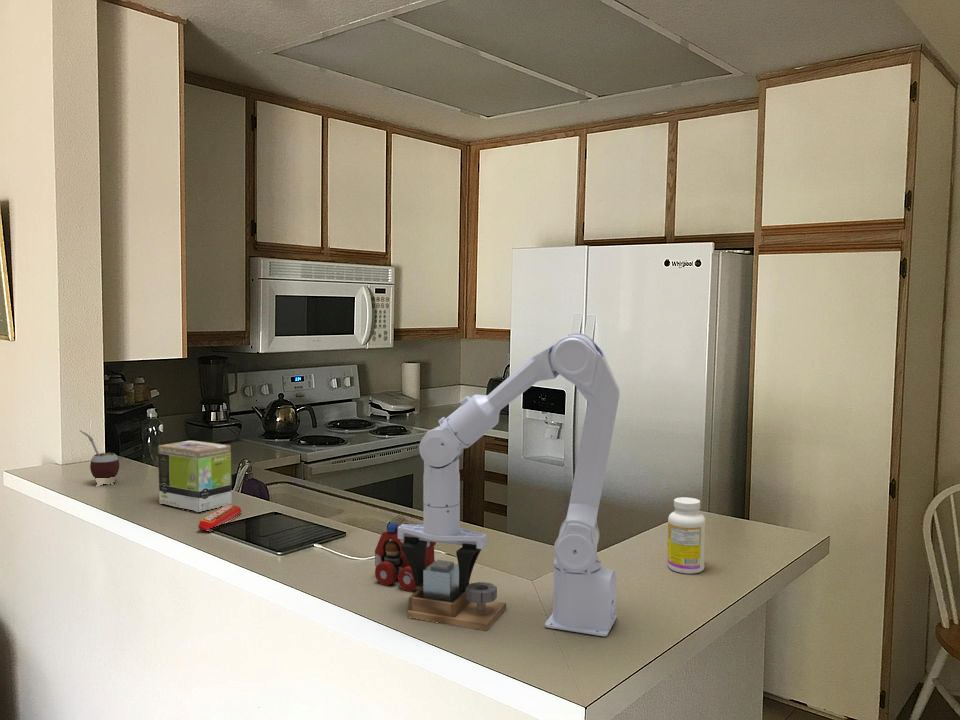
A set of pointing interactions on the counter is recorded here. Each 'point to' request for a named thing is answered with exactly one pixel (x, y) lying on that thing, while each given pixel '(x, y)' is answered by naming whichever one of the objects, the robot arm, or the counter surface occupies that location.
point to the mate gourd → (103, 463)
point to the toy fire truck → (396, 559)
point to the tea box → (195, 474)
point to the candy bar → (219, 517)
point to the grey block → (441, 581)
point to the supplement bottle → (686, 537)
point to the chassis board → (455, 611)
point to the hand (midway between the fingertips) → (441, 587)
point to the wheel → (481, 592)
